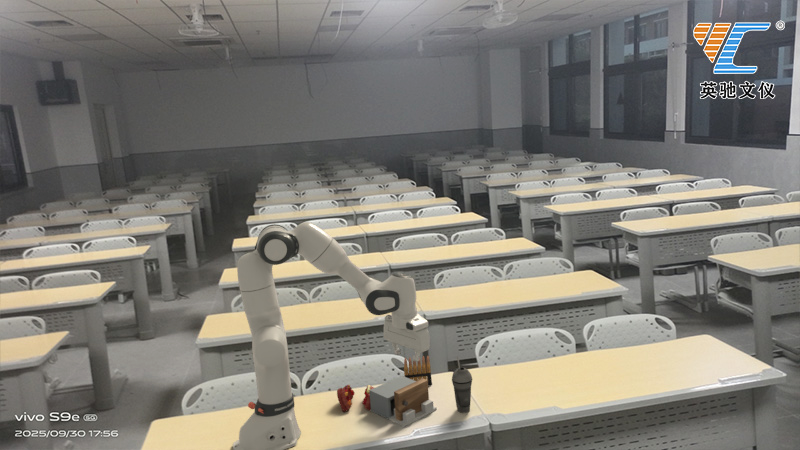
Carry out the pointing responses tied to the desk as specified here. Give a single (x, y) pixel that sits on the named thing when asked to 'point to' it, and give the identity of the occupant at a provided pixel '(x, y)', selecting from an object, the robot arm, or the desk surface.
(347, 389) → the teeth
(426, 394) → the door
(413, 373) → the ammunition clip
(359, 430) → the desk surface
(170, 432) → the desk surface
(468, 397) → the beverage cup
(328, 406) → the desk surface
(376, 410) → the cabinet
